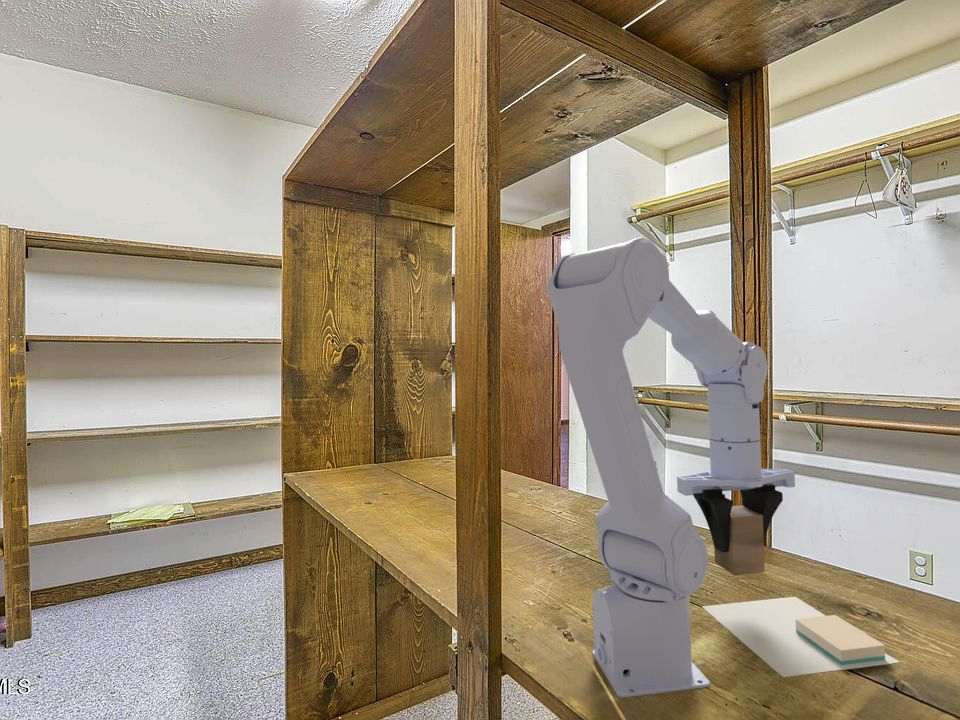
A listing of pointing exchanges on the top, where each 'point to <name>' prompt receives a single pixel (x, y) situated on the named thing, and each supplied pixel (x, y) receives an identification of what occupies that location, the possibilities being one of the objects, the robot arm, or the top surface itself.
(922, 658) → the top surface
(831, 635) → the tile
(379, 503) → the top surface
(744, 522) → the walnut block
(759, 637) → the mat
